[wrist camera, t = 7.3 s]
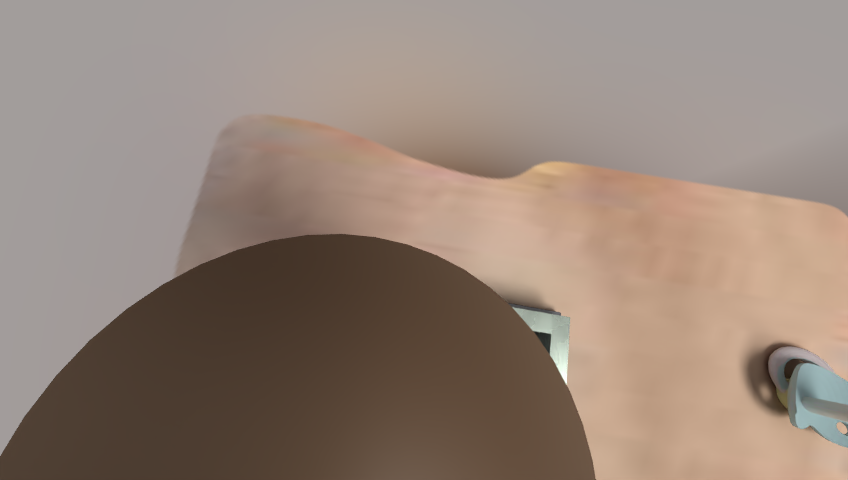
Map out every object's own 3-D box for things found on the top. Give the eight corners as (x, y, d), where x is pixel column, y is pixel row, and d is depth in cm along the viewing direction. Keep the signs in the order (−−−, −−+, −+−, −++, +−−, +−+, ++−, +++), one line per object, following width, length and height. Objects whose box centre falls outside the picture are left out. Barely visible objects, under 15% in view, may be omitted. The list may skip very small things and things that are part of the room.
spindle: (362, 433, 13) (282, 1269, 2) (284, 350, 14) (-243, 591, 2) (440, 346, 15) (692, 489, 3) (368, 271, 15) (347, 140, 3)
